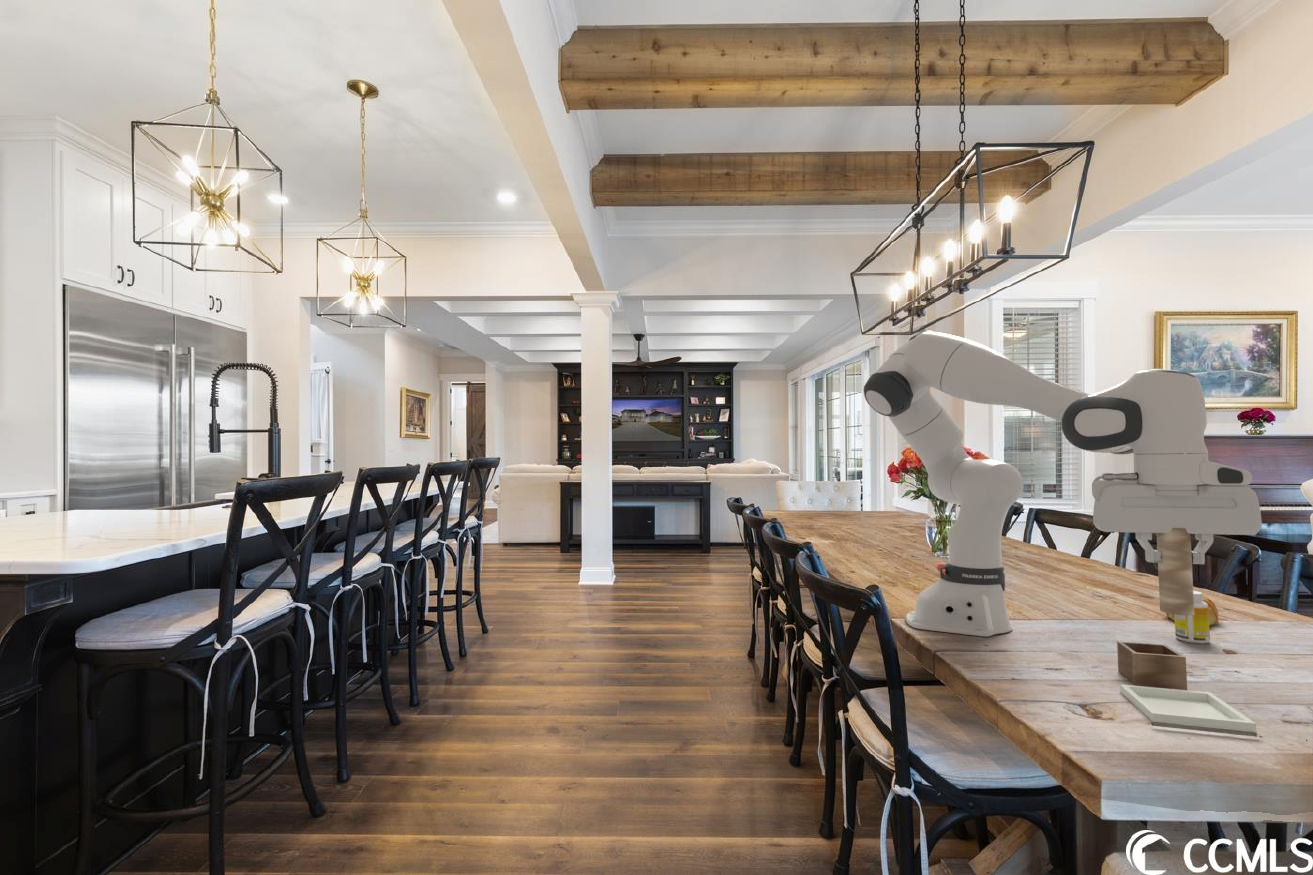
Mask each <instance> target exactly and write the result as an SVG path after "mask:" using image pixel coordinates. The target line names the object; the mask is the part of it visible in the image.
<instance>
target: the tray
mask: <svg viewBox="0 0 1313 875" xmlns="http://www.w3.org/2000/svg"><path fill="white" fill-rule="evenodd" d="M1119 692H1120V693H1121V694H1122V695H1123V696H1124V697H1125V698H1126V699H1127V700H1128V701H1129V702H1130V703H1132V705H1134V706H1135V707H1136V708H1137V709H1138V710H1139V711H1140V712H1141V713H1142V714H1144V715H1145V717H1146V718H1148V719H1149V720H1150V721H1151V722H1150V725H1152V726H1153V727H1163V728H1169V729H1171V728H1172V729H1180V730H1181V729H1182V730H1189V731H1197V732H1198V731H1199V732H1209V733H1219V734H1227V735H1237V736H1239V735H1240V736H1248V737H1257V736H1258V734H1257V723H1256V722H1254V721H1253V720H1251V719H1250V718H1248V717H1247V716H1246V715H1245V714H1242V713H1241V712H1240V711H1238V710H1237V709H1235V707H1232V706H1231V705H1229V704H1228V703H1226V702H1225V700H1224V701H1223V700H1222V699H1221V698H1219V697H1218V696H1216V695H1214V693H1212V692H1211V691H1199V690H1188V689H1187V690H1178V689H1167V688H1155V687H1144V686H1135V685H1133V684H1132V685H1130V684H1122V683H1121V684H1119Z"/></svg>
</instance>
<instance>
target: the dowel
mask: <svg viewBox="0 0 1313 875" xmlns="http://www.w3.org/2000/svg"><path fill="white" fill-rule="evenodd" d="M1191 538H1192V536H1191V534H1189V533H1187V531H1186V528H1172V529H1171V531H1170V532H1169V533H1156V550H1158V551H1161V557H1160V558H1161V559H1162V561H1161V563H1157V566H1158V567H1157V571H1158V593H1159V611H1160V612H1162V613H1164V614H1166V613H1169V614H1175V615H1194V596H1193V591H1194V579H1193V564H1192V553H1191V551H1192V539H1191Z"/></svg>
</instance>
